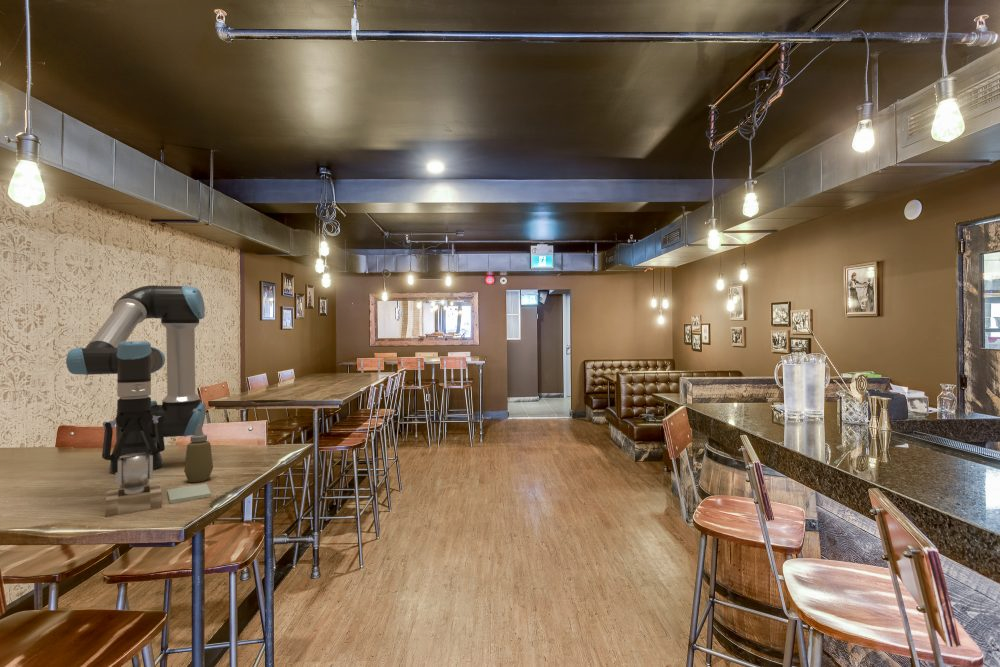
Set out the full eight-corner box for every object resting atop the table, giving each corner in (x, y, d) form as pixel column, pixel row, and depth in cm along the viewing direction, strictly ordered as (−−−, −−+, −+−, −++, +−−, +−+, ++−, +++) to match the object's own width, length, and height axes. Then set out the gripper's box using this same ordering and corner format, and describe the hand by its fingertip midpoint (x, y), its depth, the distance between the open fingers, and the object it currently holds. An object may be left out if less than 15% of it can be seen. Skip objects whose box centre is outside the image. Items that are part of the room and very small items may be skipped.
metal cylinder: (116, 503, 137) (116, 455, 137) (144, 497, 142) (144, 451, 142) (123, 508, 133) (123, 459, 133) (152, 502, 138) (152, 455, 138)
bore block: (107, 504, 139) (107, 489, 139) (159, 496, 146) (159, 482, 146) (105, 516, 129) (105, 501, 129) (161, 507, 136) (161, 492, 136)
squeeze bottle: (178, 481, 161) (178, 425, 161) (203, 475, 168) (203, 421, 168) (193, 485, 157) (193, 427, 157) (218, 478, 164) (218, 423, 164)
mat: (167, 493, 149) (167, 489, 149) (206, 486, 155) (206, 483, 155) (169, 503, 139) (169, 500, 139) (211, 496, 145) (211, 493, 145)
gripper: (93, 402, 128) (93, 492, 128) (179, 394, 143) (179, 475, 143) (86, 399, 133) (86, 486, 133) (169, 393, 148) (169, 471, 148)
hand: (134, 480), depth 138 cm, fingers closed on metal cylinder, 6 cm apart
